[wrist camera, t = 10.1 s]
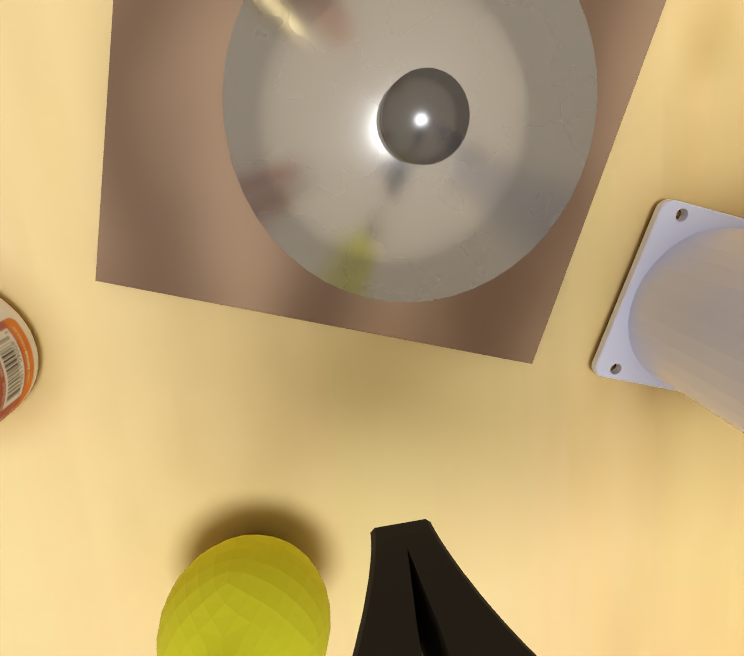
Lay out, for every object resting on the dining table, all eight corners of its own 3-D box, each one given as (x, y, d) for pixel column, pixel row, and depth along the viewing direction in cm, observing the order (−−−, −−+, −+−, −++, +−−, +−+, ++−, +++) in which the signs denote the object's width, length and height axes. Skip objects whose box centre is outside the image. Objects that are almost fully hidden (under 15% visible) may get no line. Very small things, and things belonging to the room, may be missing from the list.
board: (756, -275, 15) (801, -319, 14) (526, 358, 22) (540, 372, 20) (159, -571, 12) (138, -667, 11) (102, 276, 19) (84, 286, 17)
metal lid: (624, 161, 18) (730, 162, 14) (372, 347, 20) (390, 406, 15) (323, -444, 12) (326, -816, 8) (-8, -114, 14) (-177, -255, 9)
